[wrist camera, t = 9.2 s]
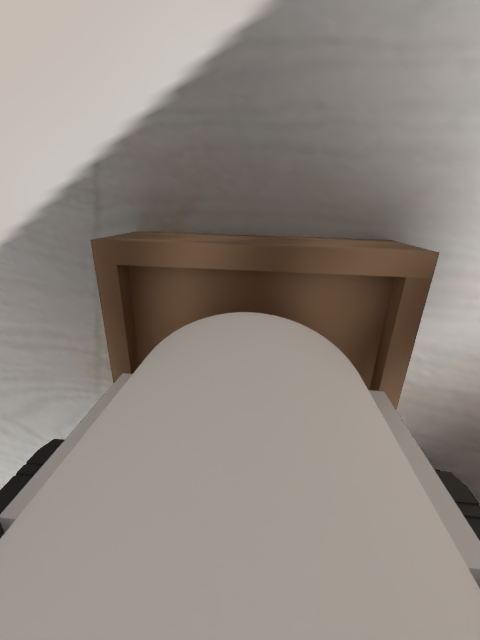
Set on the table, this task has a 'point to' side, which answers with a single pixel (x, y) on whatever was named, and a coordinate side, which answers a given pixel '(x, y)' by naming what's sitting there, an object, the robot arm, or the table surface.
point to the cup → (236, 507)
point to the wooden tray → (266, 293)
